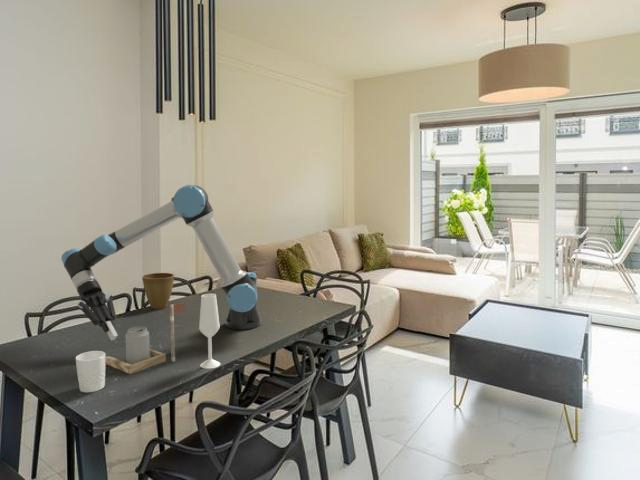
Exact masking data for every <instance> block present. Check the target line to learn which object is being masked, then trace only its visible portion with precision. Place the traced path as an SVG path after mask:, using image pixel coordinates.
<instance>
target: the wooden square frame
mask: <svg viewBox="0 0 640 480" xmlns="http://www.w3.org/2000/svg"><path fill="white" fill-rule="evenodd" d="M184 312H185V302H183V301H182V302H179V303H175V304H169V322H170V323H169V325H170V329H169V330H170V333H169V334H170V353H171V354H170V355H171V356H170V357H171V363H175V362H176V351H175V350H176V348H175V347H176V346H175V322H174V321H175V316H174V315H176V314H180V313H184ZM166 361H167V354H166V353H164V352H161V351H158V350H155V349H152V348H150V358H149V359H146V360H143V361H140V362H138V363H135V364H132V365H131V364H128V363H127V361H126V362H125V361H123V360H121V359H118V358H116V357H113V356H107V355H105V366H110V367H112V368H115V369H117V370H120V371H122V372H124V373H127V374H129V375H132V374H135V373H137V372H140V371H142V370H147V369H148V368H152V367H153V366H156V365H158V364H159V365H160V364H162V363H164V362H166Z"/></svg>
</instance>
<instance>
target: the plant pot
mask: <svg viewBox="0 0 640 480" xmlns="http://www.w3.org/2000/svg"><path fill="white" fill-rule="evenodd" d="M141 277H142V284H143V288H144V292H145V296H146V299H147V301H148V304H149V306H150V308H151V309H153V310H154V309H155V310H160V309H166V308H168V305H169V301H170V300H171V295H172V292H173V287H174V280H175V274H174V273H169V272H153V273H146V274H144V275H142V276H141Z"/></svg>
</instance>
